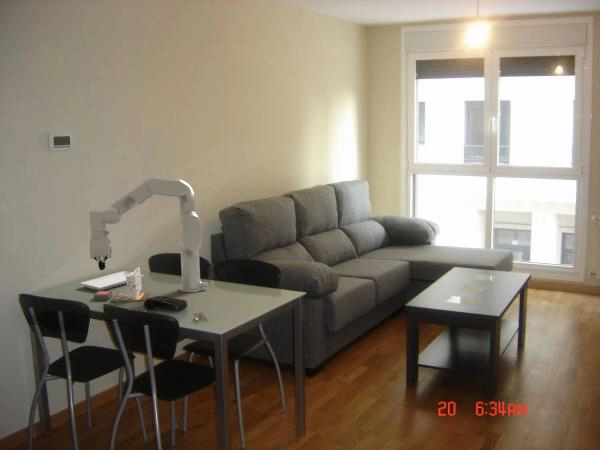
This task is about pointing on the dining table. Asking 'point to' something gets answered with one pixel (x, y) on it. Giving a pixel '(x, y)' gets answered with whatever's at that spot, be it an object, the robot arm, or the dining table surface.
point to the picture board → (123, 298)
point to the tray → (107, 281)
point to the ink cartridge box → (134, 284)
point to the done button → (103, 293)
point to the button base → (103, 296)
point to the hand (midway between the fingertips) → (102, 269)
